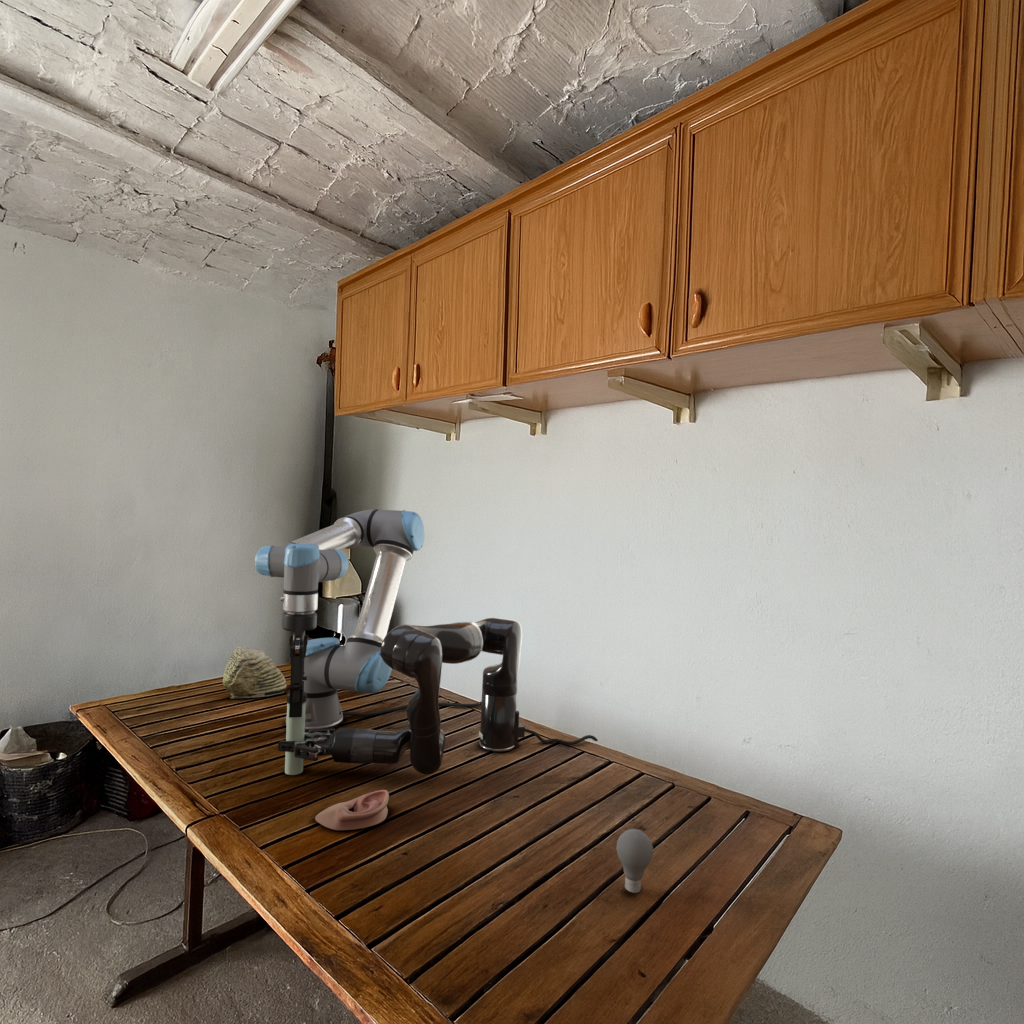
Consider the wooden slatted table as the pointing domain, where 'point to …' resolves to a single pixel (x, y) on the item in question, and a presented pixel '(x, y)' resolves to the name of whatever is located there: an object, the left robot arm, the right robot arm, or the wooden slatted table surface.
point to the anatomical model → (356, 812)
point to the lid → (302, 699)
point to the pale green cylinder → (294, 733)
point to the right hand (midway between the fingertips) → (283, 741)
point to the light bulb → (634, 857)
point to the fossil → (252, 674)
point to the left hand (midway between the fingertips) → (296, 712)
